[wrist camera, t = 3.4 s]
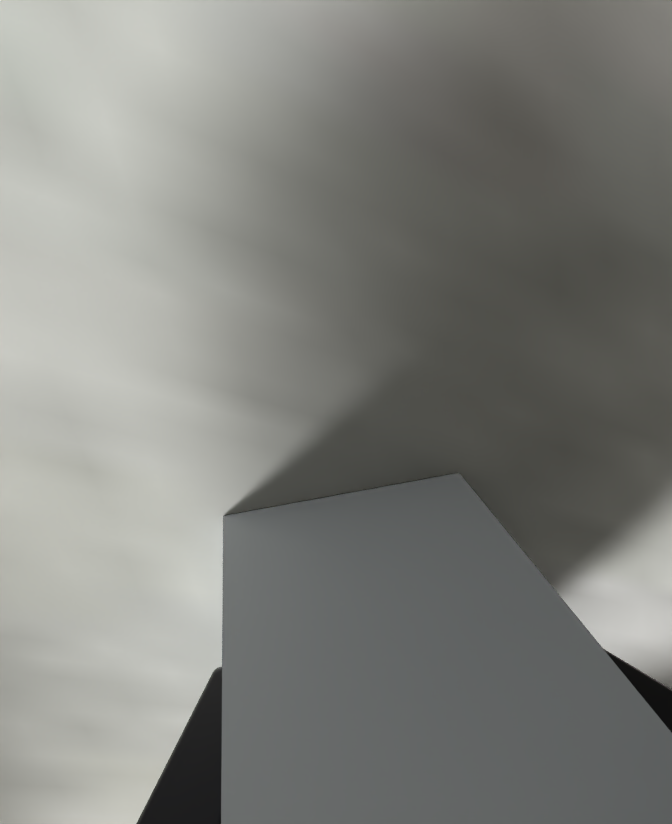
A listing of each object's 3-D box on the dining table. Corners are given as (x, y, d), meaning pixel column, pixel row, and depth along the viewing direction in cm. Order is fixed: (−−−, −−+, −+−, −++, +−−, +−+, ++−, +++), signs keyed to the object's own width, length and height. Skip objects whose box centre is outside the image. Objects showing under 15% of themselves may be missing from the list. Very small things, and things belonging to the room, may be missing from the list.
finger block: (459, 473, 10) (757, 839, 4) (464, 670, 12) (683, 1114, 6) (223, 516, 9) (219, 992, 4) (264, 716, 11) (304, 1245, 6)
